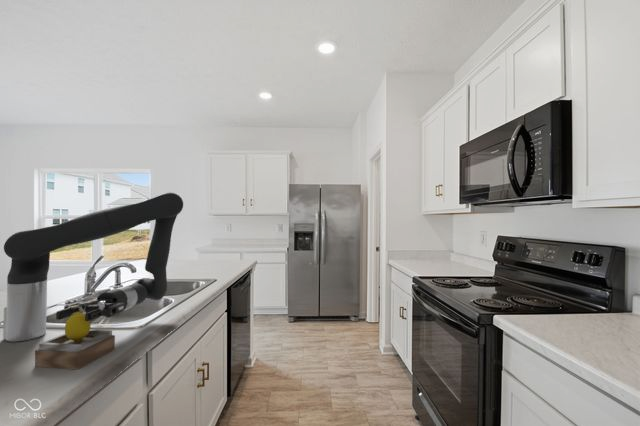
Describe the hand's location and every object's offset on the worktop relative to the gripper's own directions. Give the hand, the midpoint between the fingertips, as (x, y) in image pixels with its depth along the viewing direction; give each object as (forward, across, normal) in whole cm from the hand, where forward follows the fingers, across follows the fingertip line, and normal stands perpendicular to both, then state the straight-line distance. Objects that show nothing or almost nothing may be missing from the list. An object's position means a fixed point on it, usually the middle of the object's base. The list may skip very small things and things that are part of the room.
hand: (71, 316), depth 83 cm
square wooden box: (-2, 0, +12) cm, 12 cm away
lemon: (-2, 0, +8) cm, 8 cm away
